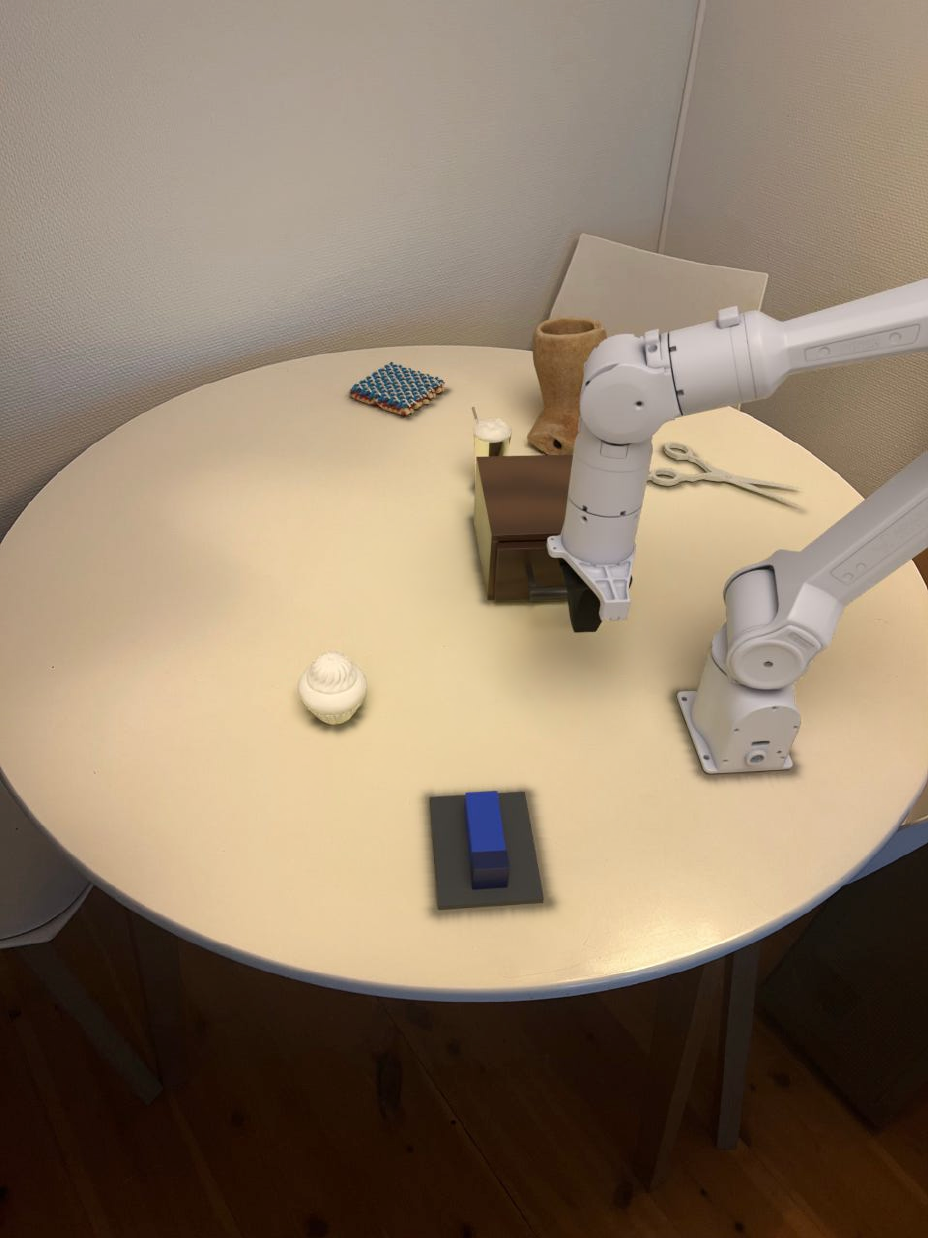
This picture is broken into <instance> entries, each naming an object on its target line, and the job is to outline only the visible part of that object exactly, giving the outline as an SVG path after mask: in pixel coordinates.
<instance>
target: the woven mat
mask: <svg viewBox="0 0 928 1238" xmlns="http://www.w3.org/2000/svg"><path fill="white" fill-rule="evenodd" d="M445 383H446V382H445V381H444V380H443V379H439V376H435V377H434V376H431V375H430V374H429V373H426V374H425V373H421V371H420V370H417V371H416V370H413V369H412V368H411V367H408V368H407V367H403V365H402V364H399V365H398V364H394V362H393V361H390V362H389V363H387V364H383V366H381V367H380V368H378V369H376V370H374V371H373V372H372V373H370V375H366V376H365V378H362V380H360V381H358V382H356V383H354V384H353V385H352V387H351V388H349V392H348V393H349V395H350V396H351V397H352V398H353V399H355V400H356V401H359V402H361V403H365V404H367V405H375V406H378V407H380V408H381V409H382V410H384V411H387V412H390V413H394V414H397V415H404V416H409V414H411V415H412V414H414V412H415V410H417V409H419V408H421V407H422V406H424V405H430V400H431V399H436V397H437V394H440V393H444V392H445V390H446V388H445V387H444V385H445Z"/></svg>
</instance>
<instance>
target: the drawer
mask: <svg viewBox="0 0 928 1238" xmlns="http://www.w3.org/2000/svg"><path fill="white" fill-rule="evenodd" d="M494 599H495V600H494V602H511V601H512V602H514V601H529V602H552V601H568V594H567V588H566V586H565V583H564V580H563V577H562V573H561V568H560V566H559V562H558V558H554V557H551V556H550V555H549V553H548V549H547V540H520V541H499V542H498V543H497V552H496V566H495V580H494Z"/></svg>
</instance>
